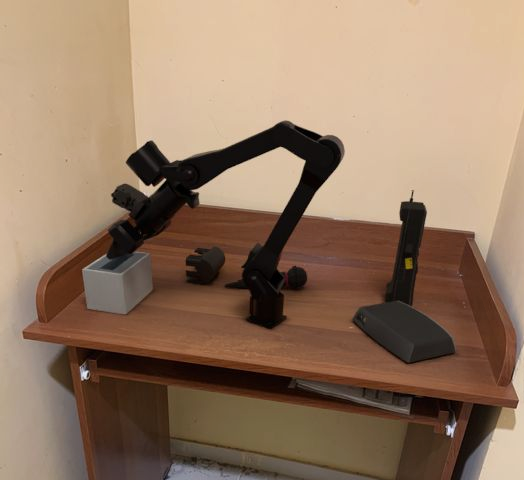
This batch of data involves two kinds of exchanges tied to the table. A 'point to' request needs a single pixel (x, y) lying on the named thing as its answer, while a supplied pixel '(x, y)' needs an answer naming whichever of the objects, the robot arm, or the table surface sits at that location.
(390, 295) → the portable radio
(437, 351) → the hard drive
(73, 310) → the table surface
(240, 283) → the microphone
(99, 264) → the grey hollow block
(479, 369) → the table surface
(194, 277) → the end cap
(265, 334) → the table surface
